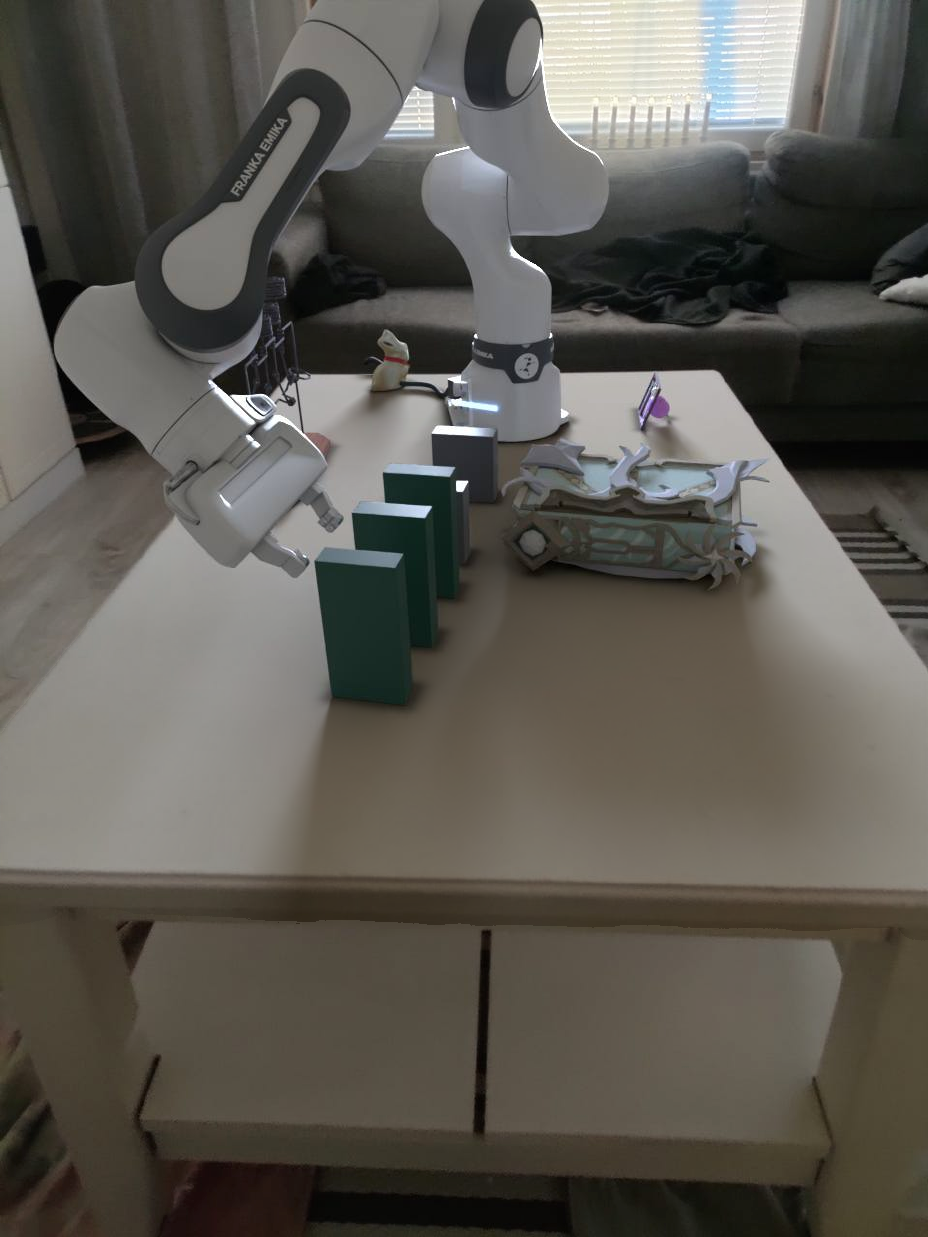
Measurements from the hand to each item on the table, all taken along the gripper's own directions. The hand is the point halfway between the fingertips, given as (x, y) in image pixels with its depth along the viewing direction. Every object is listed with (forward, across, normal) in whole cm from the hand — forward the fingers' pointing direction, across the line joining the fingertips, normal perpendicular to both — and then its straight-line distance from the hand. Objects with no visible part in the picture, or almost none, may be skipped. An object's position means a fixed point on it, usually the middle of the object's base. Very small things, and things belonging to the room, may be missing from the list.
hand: (321, 547), depth 85 cm
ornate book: (+27, +25, -14) cm, 39 cm away
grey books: (+11, +26, +2) cm, 28 cm away
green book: (+12, 0, +1) cm, 12 cm away
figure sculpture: (-8, +36, +21) cm, 42 cm away
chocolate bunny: (-6, +79, +19) cm, 82 cm away
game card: (+28, +68, -14) cm, 75 cm away
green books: (+12, 0, +1) cm, 12 cm away
